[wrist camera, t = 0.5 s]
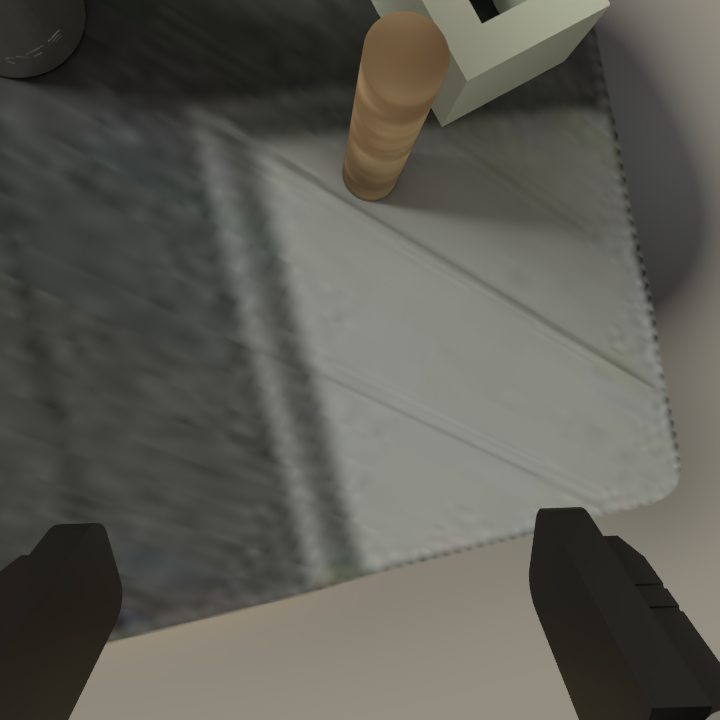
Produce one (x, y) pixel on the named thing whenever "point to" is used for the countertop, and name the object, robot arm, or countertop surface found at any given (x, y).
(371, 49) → the dowel
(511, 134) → the countertop surface
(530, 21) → the holder
